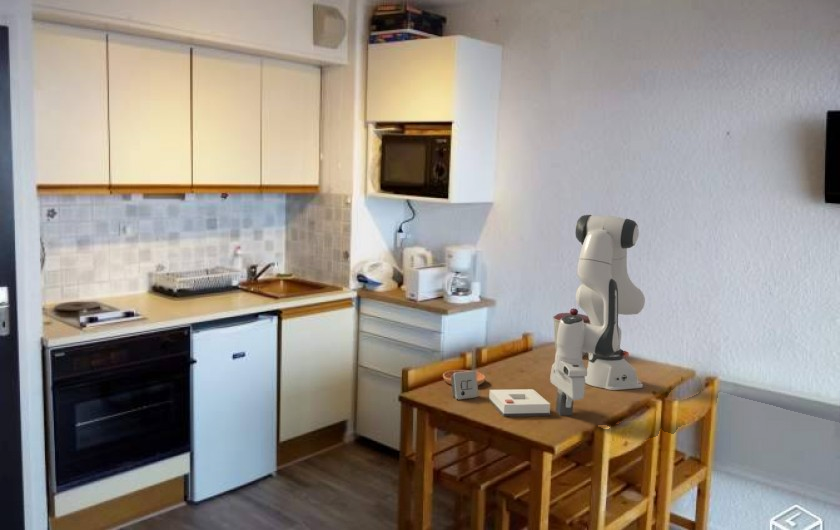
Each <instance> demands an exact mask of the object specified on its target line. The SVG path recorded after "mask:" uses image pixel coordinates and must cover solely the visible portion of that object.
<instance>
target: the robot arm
mask: <svg viewBox="0 0 840 530" xmlns="http://www.w3.org/2000/svg"><path fill="white" fill-rule="evenodd" d="M574 230H575V231H574V233H575V238H576V240H577V241H578V242H579V243H581V249H580V253H579V257H578V263H577V270H576V272H577V278H578V279H579V281H580V282H581V283H582V284H580V285H579V286H578V288H577V289H576V291H575V302H576V304H577V305H578V306H579V308H580V309H581V310H583V311H584V313H585V315H586V316H588V318H589V320H590V323H591V324H587V323H584V321H583V319H582V318H581V317H579V316H575V315H569V316H564V317H562V318H561V320H560V323H559V327H558V333H557V351H556V350H555V356H554V357H555V358H554V363H552V365H551V370H550V377H549V381H550V383H551V384H552V385H553V386H555V387H556V388H557V390H558V389H560V390H561V391H562V392H564V393H565V394H566V397H567V399H566V401H565V406H566V407H567V408H570V407H571V403H572V401H573V402H574V401H581V400H583V399H584V396H585V391H586V385H589V386H592V387H595V388H600V389H601V388H602V389H604V390H605V389H606V390H609V391H620V390H621V391H622V390H632V389H642V388H643V386H644V385H643V383H642V382H641V381H640V380H639V379H638V373H637V370H636V369H635V367H634V366H633V365H631V364H630V363H629V362H628V361H627V360H626V359H625V358H624V357H626V358H627V357H629V355H630V352H628V351H627V350H624V349H621V342H622V329H621V327H620V326H619V315H622V316H624V315H625V316H626V315H627V316H629V315H631V316H632V315H639V313H641V312H642V310H643V309H644V308H645V304H646V298H645V295H644V293H643V292H642V290H641V289H640V288H638V287H637V286H636V285H635V284H634V283H633V282H632V280H631V278H630V277H629V274H628V268H627V266H628V265H627V264H628V262H627V261H628V260H627V258H628V249H630V248H632V247H633V246H635V244H636V243H637V241H638V238H639V234H640V232H639V226H638V223H637V222H636V221H635V220H633V219H630V218H622V217H620V216H619V217H617V216H612V215H592V214H585V215H581V216H580V217H579V218H578V220H577V221H576V223H575V229H574ZM582 352H586V354H587V353H588V362H587V363H588V364H587V368H586V367H585V365H584V361H583V356H582Z"/></svg>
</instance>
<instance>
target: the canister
mask: <svg viewBox="0 0 840 530" xmlns="http://www.w3.org/2000/svg"><path fill="white" fill-rule="evenodd" d="M569 315H575V316H579V317H581V318H582V319H583V321H584V323H587V324H591V323H590V320H589V318H588V316H587V314H582V313H579V310H578V309H577V308H574V307H573V308H571V309H570V310H569V312H560V313H557V314H555V315H553V316H552V319H553V324H554V326H553V327H554V328H553V329H554V349H555V352H556V351H557V333H558V327H559V323H560V320H561V318H562V317H564V316H569ZM586 354H587V352H582V357H584V356H585V355H586Z"/></svg>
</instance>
